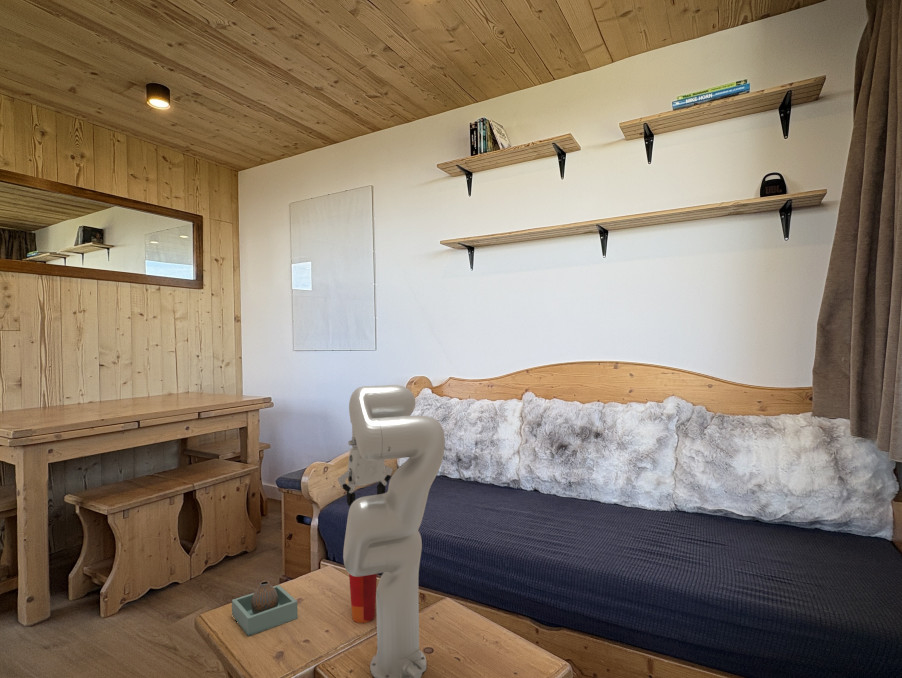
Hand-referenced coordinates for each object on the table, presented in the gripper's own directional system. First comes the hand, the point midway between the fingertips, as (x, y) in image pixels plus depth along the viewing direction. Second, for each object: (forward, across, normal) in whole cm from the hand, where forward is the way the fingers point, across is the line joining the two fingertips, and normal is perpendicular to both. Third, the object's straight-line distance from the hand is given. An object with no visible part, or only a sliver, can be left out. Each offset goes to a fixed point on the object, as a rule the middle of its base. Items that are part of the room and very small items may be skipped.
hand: (366, 502), depth 144 cm
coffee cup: (+28, -5, -6) cm, 30 cm away
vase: (+28, -25, +12) cm, 39 cm away
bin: (+28, -25, +12) cm, 40 cm away
